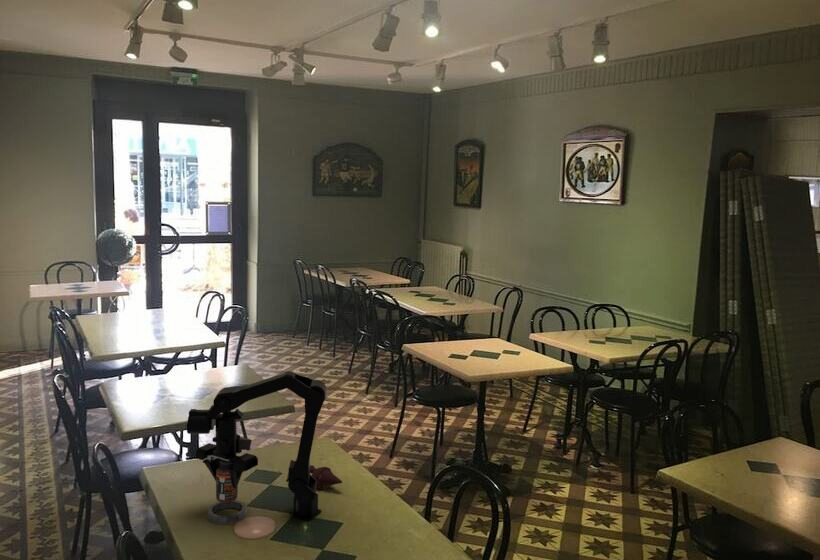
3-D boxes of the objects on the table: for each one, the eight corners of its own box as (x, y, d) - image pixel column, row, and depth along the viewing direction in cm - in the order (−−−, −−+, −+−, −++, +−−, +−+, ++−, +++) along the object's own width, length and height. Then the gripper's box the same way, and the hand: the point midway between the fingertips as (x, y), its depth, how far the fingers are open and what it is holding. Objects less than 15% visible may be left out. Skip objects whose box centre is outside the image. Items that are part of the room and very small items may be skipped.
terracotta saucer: (283, 525, 184) (283, 522, 184) (256, 543, 175) (256, 540, 175) (253, 515, 190) (253, 512, 189) (225, 532, 180) (225, 529, 180)
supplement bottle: (224, 505, 185) (224, 467, 183) (211, 499, 188) (211, 461, 187) (242, 498, 189) (241, 460, 188) (229, 492, 193) (228, 455, 191)
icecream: (350, 469, 207) (314, 461, 216) (335, 471, 201) (299, 463, 210) (348, 492, 206) (312, 483, 215) (333, 494, 200) (296, 485, 209)
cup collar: (253, 511, 192) (253, 505, 191) (228, 527, 182) (228, 520, 182) (226, 503, 196) (226, 496, 196) (200, 518, 187) (200, 511, 187)
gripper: (270, 430, 189) (270, 482, 191) (221, 418, 197) (222, 468, 200) (243, 443, 179) (244, 497, 181) (193, 430, 188) (194, 482, 190)
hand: (226, 485), depth 188 cm, fingers closed on supplement bottle, 6 cm apart
